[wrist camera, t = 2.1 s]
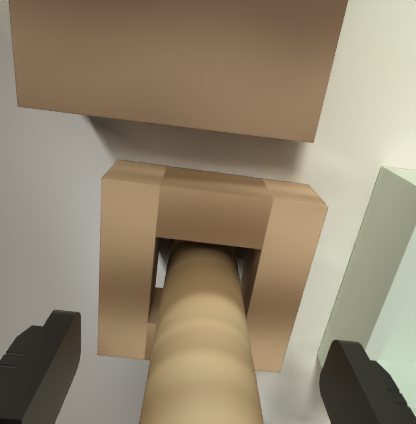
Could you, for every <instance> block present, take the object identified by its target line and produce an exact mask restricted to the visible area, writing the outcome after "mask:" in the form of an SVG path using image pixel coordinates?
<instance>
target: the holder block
mask: <svg viewBox="0 0 416 424" xmlns="http://www.w3.org/2000/svg"><path fill="white" fill-rule="evenodd" d="M327 210H328V206H327V205H326V204H325V203H324V202H323V200H322V199H321V198H320V197H319V196H318V195H317V194H316V192H315V191H314V190H313V189H312V188H311V187H310V185H307V184H299V183H292V182H284V181H277V180H269V179H261V178H254V177H246V176H239V175H231V174H223V173H216V172H208V171H200V170H193V169H185V168H178V167H170V166H162V165H155V164H147V163H140V162H132V161H124V160H117V161H116V162H115V164H114V165H113V166H112V167H111V168H110V169H109V170H108V171H107V173H106V174H105V175H104V176H103V177H102V182H101V227H100V269H99V270H100V272H99V313H98V314H99V315H98V355H101V356H111V357H123V358H132V359H144V360H151V354H152V349H153V343H154V337H155V332H156V326H157V321H158V315H159V309H160V304H161V298H162V293H163V288H156V287H155V284H156V274H157V264H158V254H159V243H160V237H161V238H169V239H178V240H186V241H195V242H203V243H212V244H220V245H229V246H237V247H246V248H248V250H247V255H246V260H245V265H244V269H243V274H242V279H241V284H240V285H241V291H242V297H243V303H244V309H245V315H246V321H247V327H248V333H249V339H250V345H251V351H252V357H253V363H254V369H255V370H258V371H269V372H279V373H280V370H281V366H282V363H283V359H284V356H285V353H286V349H287V346H288V342H289V339H290V336H291V332H292V329H293V325H294V322H295V319H296V315H297V312H298V308H299V305H300V302H301V298H302V295H303V291H304V288H305V285H306V281H307V278H308V274H309V271H310V268H311V264H312V261H313V257H314V254H315V250H316V247H317V244H318V240H319V237H320V233H321V230H322V227H323V223H324V220H325V216H326V213H327Z"/></svg>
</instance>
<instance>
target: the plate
mask: <svg viewBox="0 0 416 424" xmlns="http://www.w3.org/2000/svg"><path fill="white" fill-rule="evenodd" d="M347 3H348V0H9V10H10V21H11V33H12V45H13V56H14V68H15V80H16V92H17V104H18V107H24V108H33V109H41V110H49V111H57V112H65V113H74V114H81V115H89V116H98V117H106V118H114V119H122V120H130V121H138V122H146V123H155V124H163V125H171V126H179V127H187V128H195V129H203V130H211V131H220V132H228V133H236V134H244V135H252V136H260V137H268V138H277V139H285V140H293V141H301V142H309V143H313V142H314V138H315V134H316V130H317V126H318V122H319V118H320V114H321V110H322V105H323V101H324V97H325V93H326V89H327V85H328V81H329V77H330V73H331V68H332V64H333V60H334V56H335V52H336V48H337V44H338V40H339V36H340V31H341V27H342V23H343V19H344V15H345V11H346V7H347Z"/></svg>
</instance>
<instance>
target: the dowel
mask: <svg viewBox="0 0 416 424" xmlns="http://www.w3.org/2000/svg"><path fill="white" fill-rule="evenodd" d="M139 424H264V423H263V417H262V411H261V405H260V399H259V393H258V387H257V381H256V375H255V369H254V363H253V357H252V351H251V345H250V339H249V333H248V327H247V321H246V315H245V309H244V303H243V297H242V291H241V285H240V279H239V273H238V267H237V261H236V255H235V250H234V246H229V245H220V244H212V243H203V242H195V241H186V240H178V239H175V240H174V241H173V243H172V245H171V248H170V253H169V259H168V265H167V270H166V276H165V282H164V287H163V293H162V298H161V304H160V309H159V315H158V321H157V326H156V332H155V337H154V343H153V349H152V354H151V360H150V365H149V371H148V377H147V382H146V388H145V393H144V399H143V405H142V410H141V416H140V422H139Z"/></svg>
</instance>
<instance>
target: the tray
mask: <svg viewBox="0 0 416 424" xmlns="http://www.w3.org/2000/svg"><path fill="white" fill-rule="evenodd" d="M333 340H346V341H355V342H359V343H360V344H361V345H362V346H363V348H364V350H365V352H366V353H367V355H368V357H369V359H370V360H374V361H377V362H378V363H379V364H380V365H381V366H382V367H383V368H384V369H385V370H386V371H387V372H388V373H389V374H390V375H391V377H392V378H393V380H394V382H395V383H396V385H397V387H398V388H399V390H400V391H399V392H400V393H402V395H403V397H404V398H405V400H406V402H407V405H408V406H409V407H410V408H411V410H412V411H413V413H414V415H415V416H416V171H414V170H407V169H400V168H392V167H385V166H382V167H381V170H380V173H379V176H378V179H377V182H376V184H375V187H374V190H373V193H372V196H371V199H370V202H369V205H368V208H367V211H366V214H365V217H364V220H363V223H362V226H361V228H360V231H359V234H358V237H357V240H356V243H355V246H354V249H353V252H352V255H351V258H350V261H349V264H348V267H347V270H346V273H345V275H344V278H343V281H342V284H341V287H340V290H339V293H338V296H337V299H336V302H335V305H334V308H333V311H332V314H331V317H330V320H329V322H328V325H327V328H326V331H325V334H324V337H323V340H322V343H321V346H320V349H319V352H318V355H317V357H318V359H319V362H320V365H321V367H322V368H323V365H324V362H325V360H326V357H327V354H328V351H329V348H330V345H331V343H332V341H333Z"/></svg>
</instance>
